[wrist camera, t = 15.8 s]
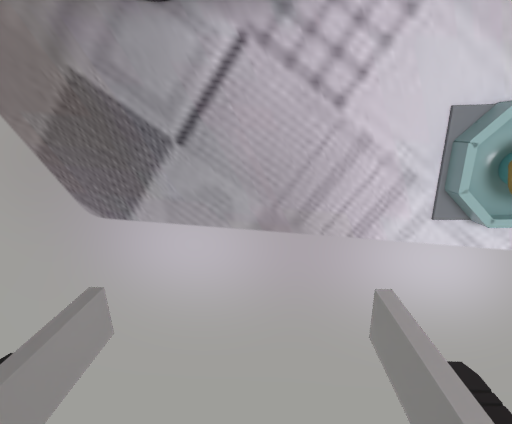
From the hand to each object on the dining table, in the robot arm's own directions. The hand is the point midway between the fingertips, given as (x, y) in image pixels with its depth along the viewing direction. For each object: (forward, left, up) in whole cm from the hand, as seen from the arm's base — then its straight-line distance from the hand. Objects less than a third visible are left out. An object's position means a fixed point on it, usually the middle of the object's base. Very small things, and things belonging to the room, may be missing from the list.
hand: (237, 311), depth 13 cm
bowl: (-3, +35, -28) cm, 45 cm away
